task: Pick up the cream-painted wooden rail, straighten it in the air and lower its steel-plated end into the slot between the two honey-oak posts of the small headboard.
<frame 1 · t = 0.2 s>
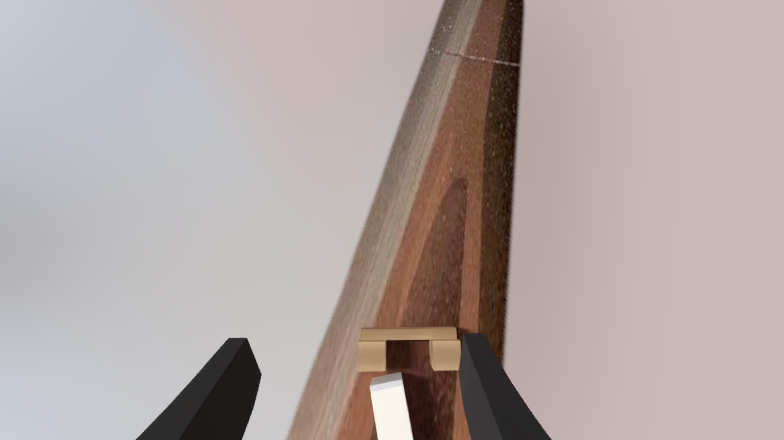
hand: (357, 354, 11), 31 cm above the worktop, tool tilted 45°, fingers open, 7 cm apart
rail: (394, 417, 38), on the worktop
headboard: (408, 350, 40), on the worktop
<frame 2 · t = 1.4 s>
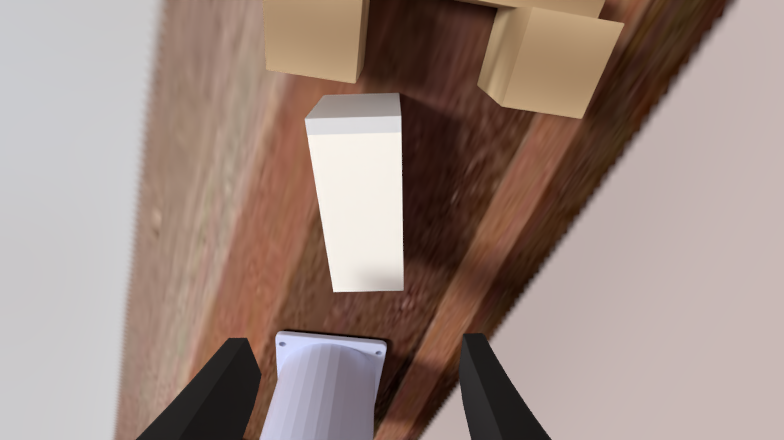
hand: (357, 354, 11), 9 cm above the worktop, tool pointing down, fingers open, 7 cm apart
rail: (367, 183, 18), on the worktop
headboard: (428, 38, 14), on the worktop
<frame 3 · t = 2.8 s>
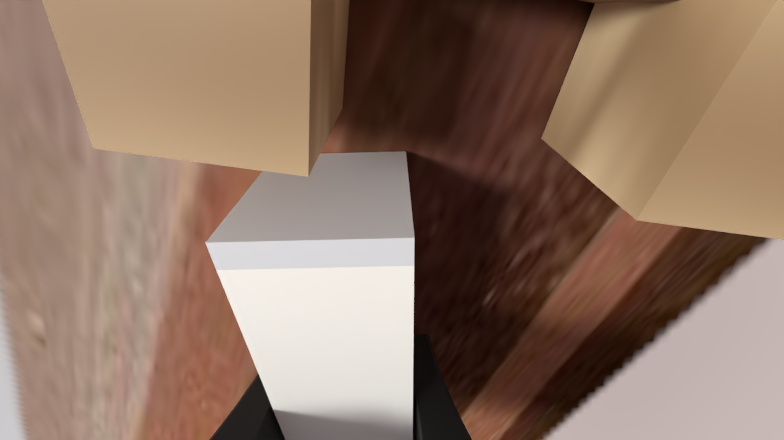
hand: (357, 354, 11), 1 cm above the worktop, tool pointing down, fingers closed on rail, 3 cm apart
rail: (355, 281, 11), on the worktop, touching gripper
headboard: (459, 60, 8), on the worktop
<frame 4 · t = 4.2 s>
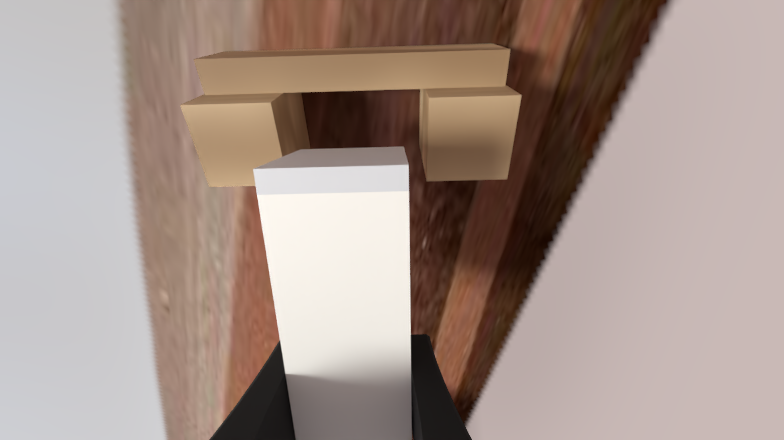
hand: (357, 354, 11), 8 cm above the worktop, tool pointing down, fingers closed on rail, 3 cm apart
rail: (359, 270, 13), point 6 cm above the worktop, tilted 14°, touching gripper
headboard: (362, 114, 15), on the worktop
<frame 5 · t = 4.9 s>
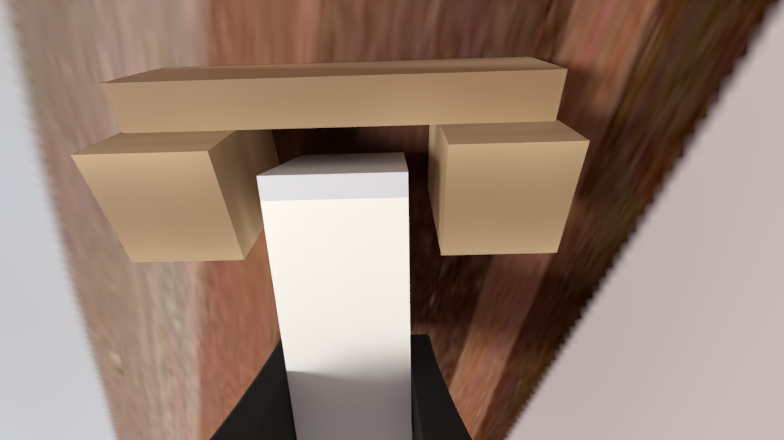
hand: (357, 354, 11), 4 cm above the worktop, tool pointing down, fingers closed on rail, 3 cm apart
rail: (360, 274, 13), point 1 cm above the worktop, tilted 14°, touching gripper
headboard: (352, 149, 11), on the worktop
when the fingers open (3 cm above the worktop, at t = 5.5 s): rail stays where it is, on the worktop.
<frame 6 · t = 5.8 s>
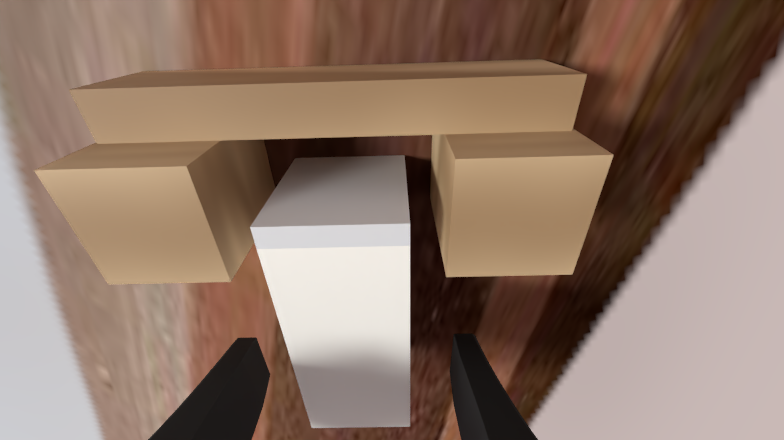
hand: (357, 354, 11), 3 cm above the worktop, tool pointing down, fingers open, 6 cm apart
rail: (361, 267, 13), on the worktop
headboard: (349, 158, 11), on the worktop
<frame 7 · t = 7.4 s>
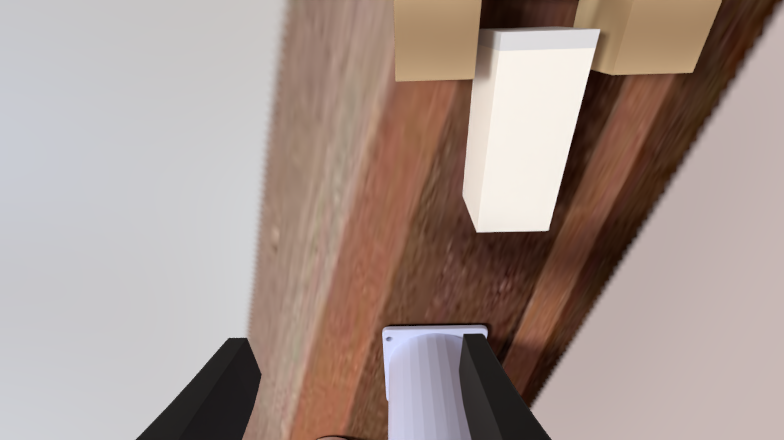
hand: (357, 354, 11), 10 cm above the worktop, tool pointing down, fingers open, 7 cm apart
rail: (501, 127, 18), on the worktop
headboard: (516, 28, 15), on the worktop
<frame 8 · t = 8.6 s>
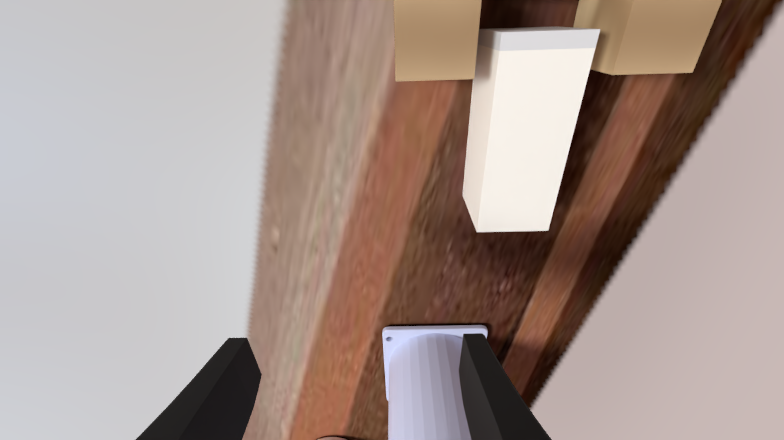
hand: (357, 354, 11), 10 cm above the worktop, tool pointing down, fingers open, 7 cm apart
rail: (501, 127, 18), on the worktop
headboard: (516, 28, 15), on the worktop
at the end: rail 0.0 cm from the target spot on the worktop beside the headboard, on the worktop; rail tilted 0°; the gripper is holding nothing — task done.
